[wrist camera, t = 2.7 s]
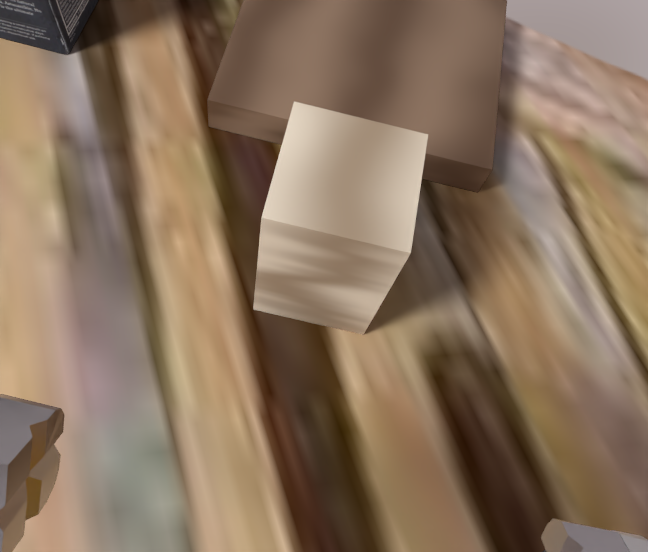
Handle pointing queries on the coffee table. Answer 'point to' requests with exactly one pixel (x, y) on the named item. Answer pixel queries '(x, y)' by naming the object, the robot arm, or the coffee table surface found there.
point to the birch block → (337, 218)
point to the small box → (45, 22)
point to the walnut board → (371, 73)
